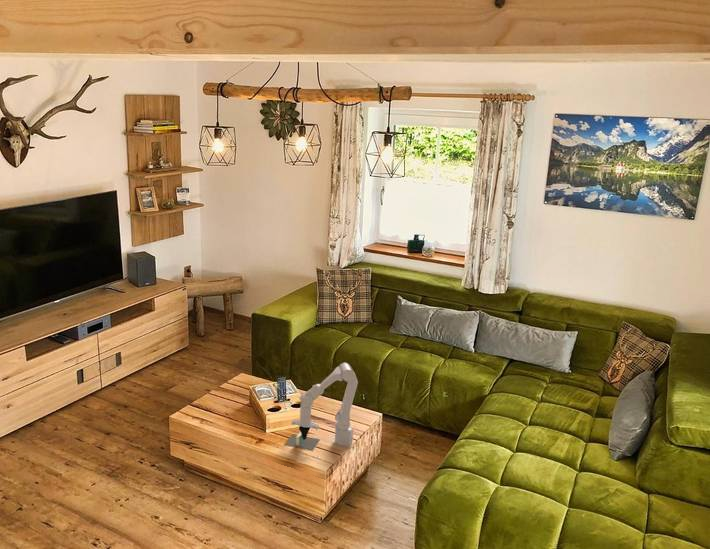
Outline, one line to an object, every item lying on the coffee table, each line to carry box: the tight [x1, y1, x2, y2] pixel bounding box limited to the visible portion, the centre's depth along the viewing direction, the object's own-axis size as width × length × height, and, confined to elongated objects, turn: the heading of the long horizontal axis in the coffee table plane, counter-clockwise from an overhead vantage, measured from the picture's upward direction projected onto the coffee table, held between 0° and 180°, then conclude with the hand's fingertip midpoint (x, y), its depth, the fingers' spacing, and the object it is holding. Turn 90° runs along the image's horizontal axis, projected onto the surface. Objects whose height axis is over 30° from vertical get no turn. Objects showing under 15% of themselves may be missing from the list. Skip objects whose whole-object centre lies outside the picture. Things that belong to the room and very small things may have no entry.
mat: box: [283, 433, 321, 452], centre depth 331 cm, size 16×12×1 cm
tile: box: [296, 431, 304, 446], centre depth 329 cm, size 2×6×5 cm, turn 164°
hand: (304, 438), depth 328 cm, fingers closed
